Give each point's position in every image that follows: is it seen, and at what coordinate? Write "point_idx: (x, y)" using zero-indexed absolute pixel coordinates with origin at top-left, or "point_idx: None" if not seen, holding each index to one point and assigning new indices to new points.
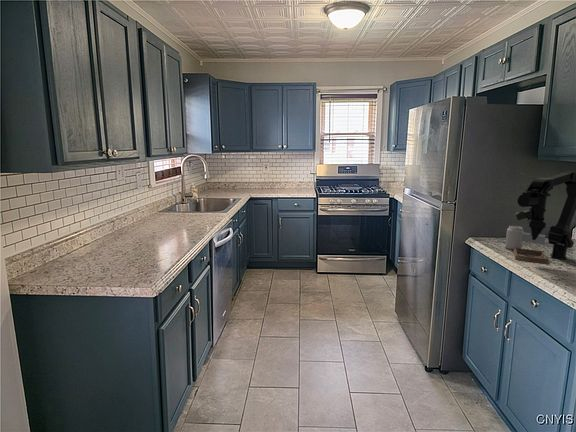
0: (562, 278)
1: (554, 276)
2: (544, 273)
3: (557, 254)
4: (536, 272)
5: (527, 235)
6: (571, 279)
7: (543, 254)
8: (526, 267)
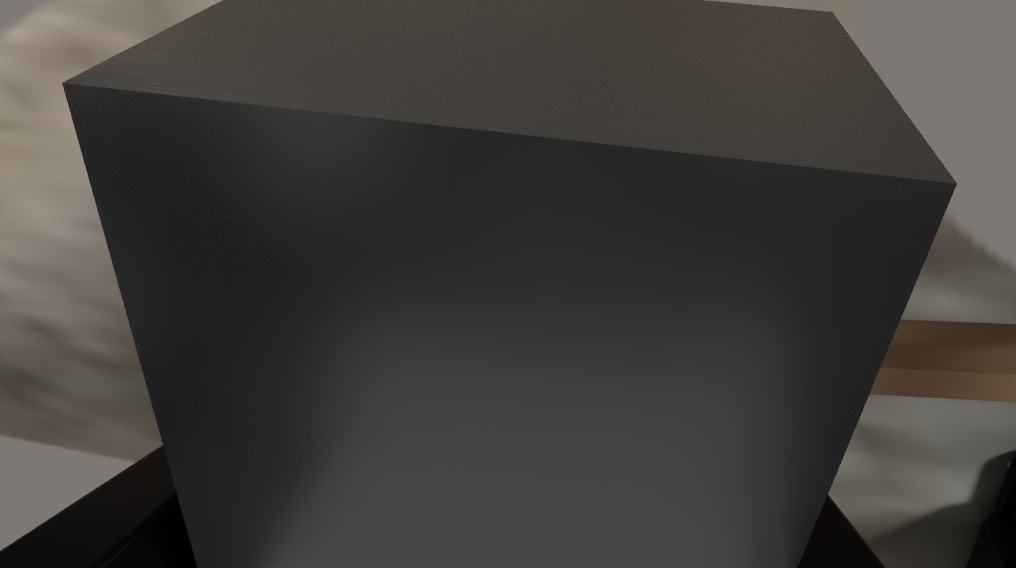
0: (31, 383)
1: (32, 323)
2: (56, 236)
3: (1005, 565)
4: (11, 143)
5: (167, 337)
6: (74, 449)
7: (976, 379)
8: (155, 14)
